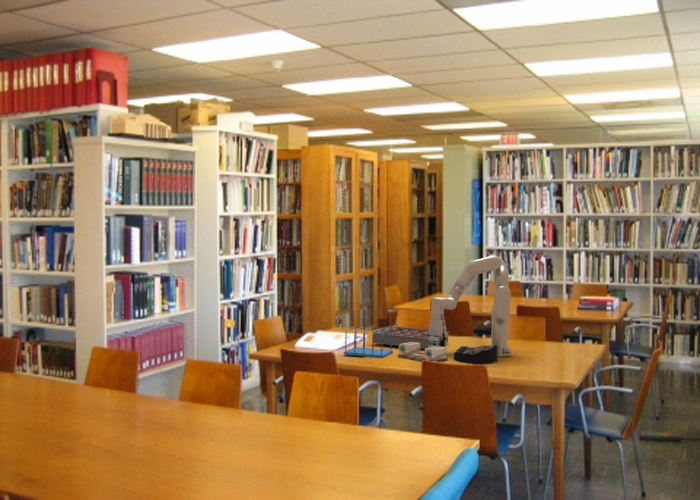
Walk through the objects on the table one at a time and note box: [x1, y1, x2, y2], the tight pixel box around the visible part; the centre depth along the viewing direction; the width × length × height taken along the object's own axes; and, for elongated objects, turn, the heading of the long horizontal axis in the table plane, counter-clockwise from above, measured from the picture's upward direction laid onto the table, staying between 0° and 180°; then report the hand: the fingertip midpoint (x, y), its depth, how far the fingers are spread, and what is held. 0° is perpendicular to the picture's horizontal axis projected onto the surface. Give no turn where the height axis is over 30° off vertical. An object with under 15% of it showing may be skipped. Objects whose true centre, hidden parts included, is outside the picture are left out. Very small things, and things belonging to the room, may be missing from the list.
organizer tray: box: [374, 323, 450, 350], centre depth 461 cm, size 32×40×10 cm
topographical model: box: [453, 344, 498, 365], centre depth 411 cm, size 25×25×10 cm
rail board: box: [397, 342, 449, 363], centre depth 413 cm, size 26×14×8 cm, turn 43°
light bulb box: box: [428, 336, 447, 348], centre depth 428 cm, size 11×7×11 cm, turn 143°
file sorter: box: [343, 326, 394, 359], centre depth 428 cm, size 25×17×15 cm
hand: (437, 346), depth 429 cm, fingers closed on light bulb box, 7 cm apart
